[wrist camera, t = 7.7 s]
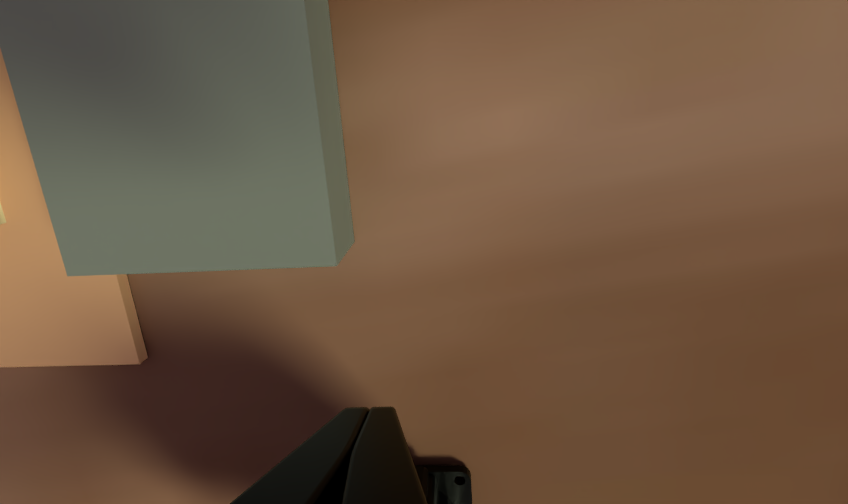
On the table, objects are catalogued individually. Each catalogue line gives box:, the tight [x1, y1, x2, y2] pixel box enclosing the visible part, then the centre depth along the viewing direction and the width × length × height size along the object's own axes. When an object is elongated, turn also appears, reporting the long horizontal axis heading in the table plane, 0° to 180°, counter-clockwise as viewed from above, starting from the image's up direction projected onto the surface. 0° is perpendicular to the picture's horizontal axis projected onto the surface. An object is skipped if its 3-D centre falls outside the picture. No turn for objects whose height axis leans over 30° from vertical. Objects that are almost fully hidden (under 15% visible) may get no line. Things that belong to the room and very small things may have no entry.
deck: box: [0, 0, 354, 276], centre depth 17 cm, size 12×10×3 cm
